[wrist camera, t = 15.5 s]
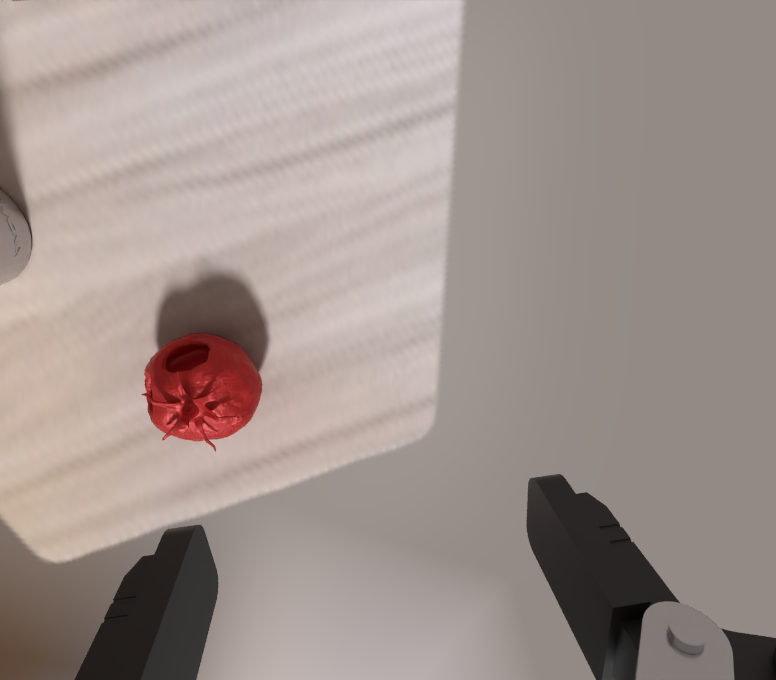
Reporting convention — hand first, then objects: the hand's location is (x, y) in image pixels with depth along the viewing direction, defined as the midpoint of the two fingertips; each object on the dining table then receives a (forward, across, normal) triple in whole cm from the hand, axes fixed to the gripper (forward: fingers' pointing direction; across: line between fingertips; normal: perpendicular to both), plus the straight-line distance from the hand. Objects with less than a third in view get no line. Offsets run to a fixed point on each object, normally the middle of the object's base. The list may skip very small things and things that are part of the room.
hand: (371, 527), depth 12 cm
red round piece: (+33, +14, +10) cm, 37 cm away
